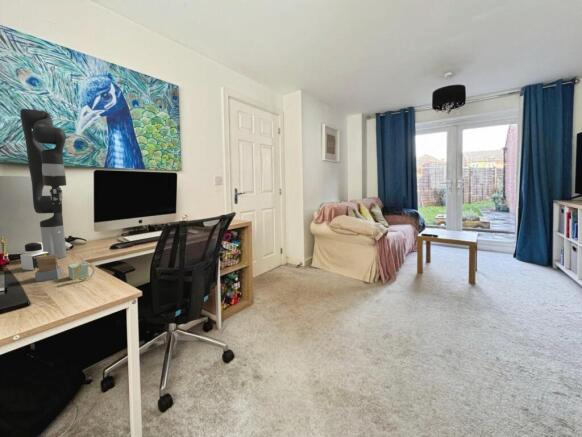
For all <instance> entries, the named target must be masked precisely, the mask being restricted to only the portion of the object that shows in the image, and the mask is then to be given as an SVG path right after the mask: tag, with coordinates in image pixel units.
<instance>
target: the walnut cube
mask: <svg viewBox="0 0 582 437" xmlns="http://www.w3.org/2000/svg"><path fill="white" fill-rule="evenodd" d="M58 266H59V265H58V259H57V255H49V256H40V257H39V258H38V268H39V269H38V270H39V272H46V271H53V270H57V268H58Z"/></svg>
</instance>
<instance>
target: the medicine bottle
mask: <svg viewBox="0 0 582 437" xmlns="http://www.w3.org/2000/svg"><path fill="white" fill-rule="evenodd" d="M24 252H25V253H22V254H20V263H21V269H22V270H24V271H25V270H26V271H38V270H39V268H38V258H39V257H40V256H49V253H48V252H43V245H42V242H39V241H38V242H28V243H26V244H25V245H24Z"/></svg>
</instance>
